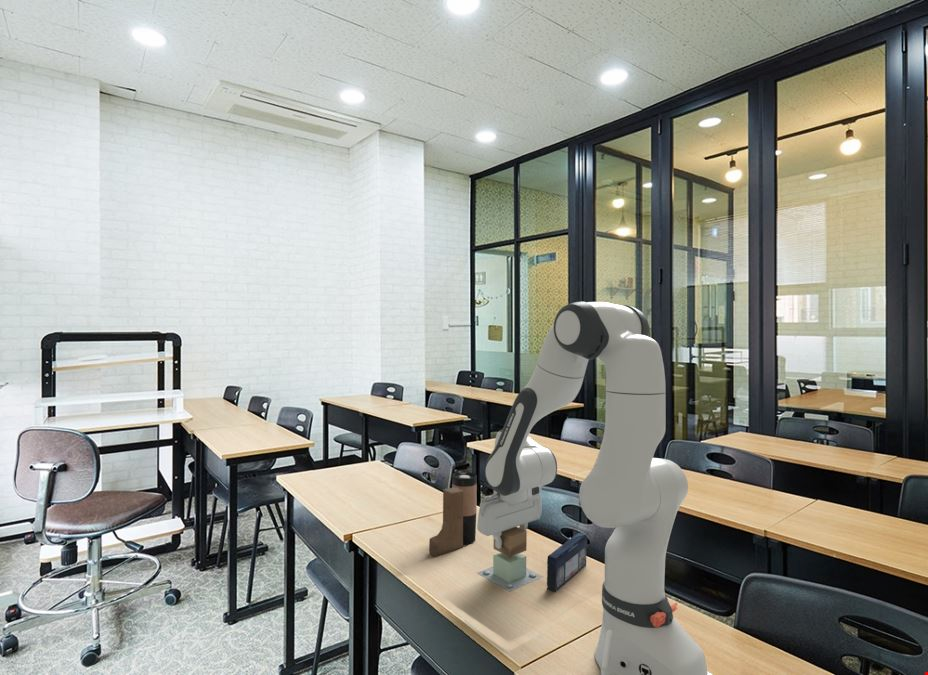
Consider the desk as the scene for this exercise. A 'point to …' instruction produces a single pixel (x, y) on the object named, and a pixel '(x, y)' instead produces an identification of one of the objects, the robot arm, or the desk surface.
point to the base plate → (512, 585)
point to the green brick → (509, 566)
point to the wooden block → (449, 524)
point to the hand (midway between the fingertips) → (510, 543)
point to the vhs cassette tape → (566, 562)
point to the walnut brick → (513, 541)
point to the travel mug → (467, 503)
